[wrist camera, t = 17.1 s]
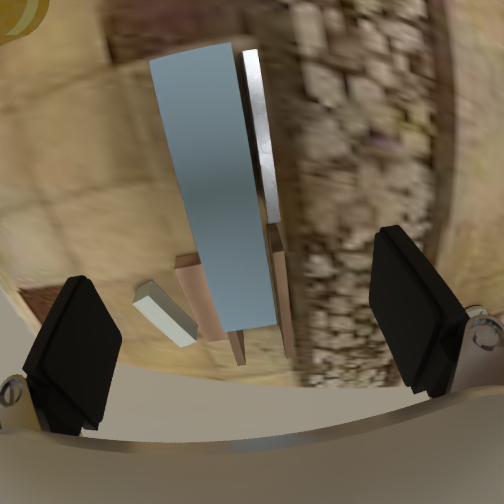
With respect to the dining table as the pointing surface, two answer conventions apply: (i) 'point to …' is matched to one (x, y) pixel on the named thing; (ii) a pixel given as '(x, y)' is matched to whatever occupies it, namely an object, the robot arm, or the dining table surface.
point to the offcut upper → (165, 314)
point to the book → (20, 17)
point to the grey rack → (260, 132)
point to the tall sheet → (216, 179)
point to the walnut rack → (281, 296)
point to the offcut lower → (199, 296)
